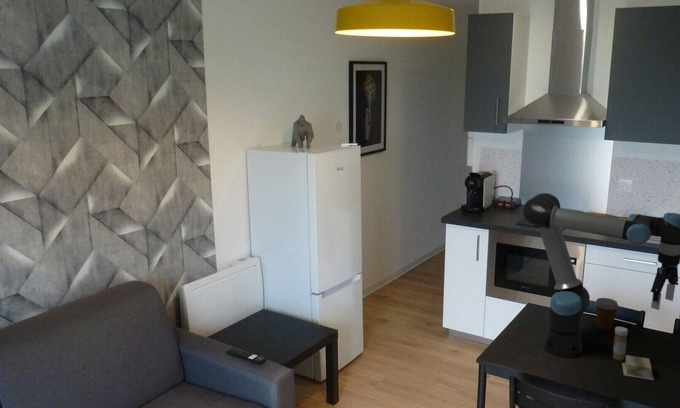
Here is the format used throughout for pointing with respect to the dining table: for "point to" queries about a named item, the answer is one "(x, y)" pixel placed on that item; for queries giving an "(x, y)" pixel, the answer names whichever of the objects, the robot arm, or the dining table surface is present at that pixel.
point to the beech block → (638, 366)
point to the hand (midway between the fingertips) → (662, 304)
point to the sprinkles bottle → (620, 343)
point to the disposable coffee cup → (605, 312)
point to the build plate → (633, 375)
